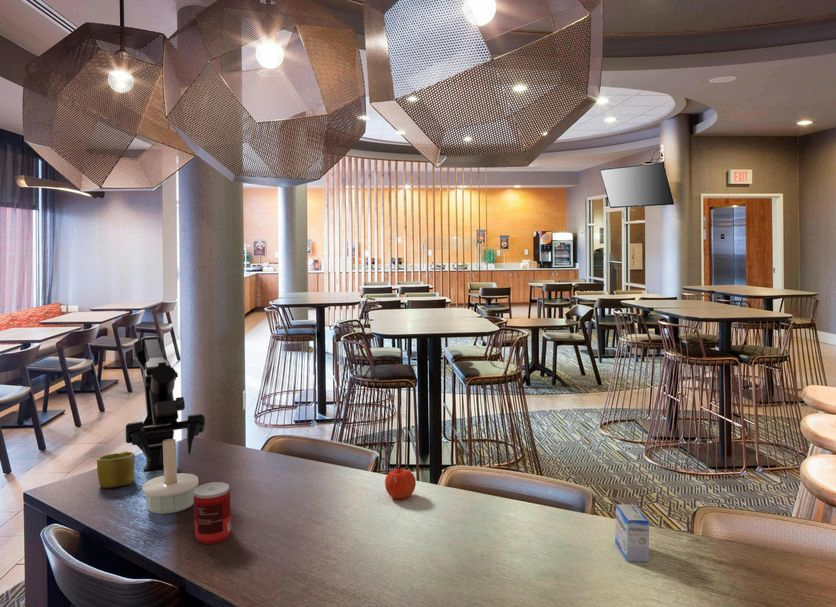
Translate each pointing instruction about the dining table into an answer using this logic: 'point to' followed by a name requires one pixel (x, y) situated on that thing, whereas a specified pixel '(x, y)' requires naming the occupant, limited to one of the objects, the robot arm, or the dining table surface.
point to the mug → (116, 469)
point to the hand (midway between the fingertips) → (170, 457)
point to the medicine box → (632, 533)
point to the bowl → (170, 503)
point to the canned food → (212, 512)
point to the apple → (400, 483)
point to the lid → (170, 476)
